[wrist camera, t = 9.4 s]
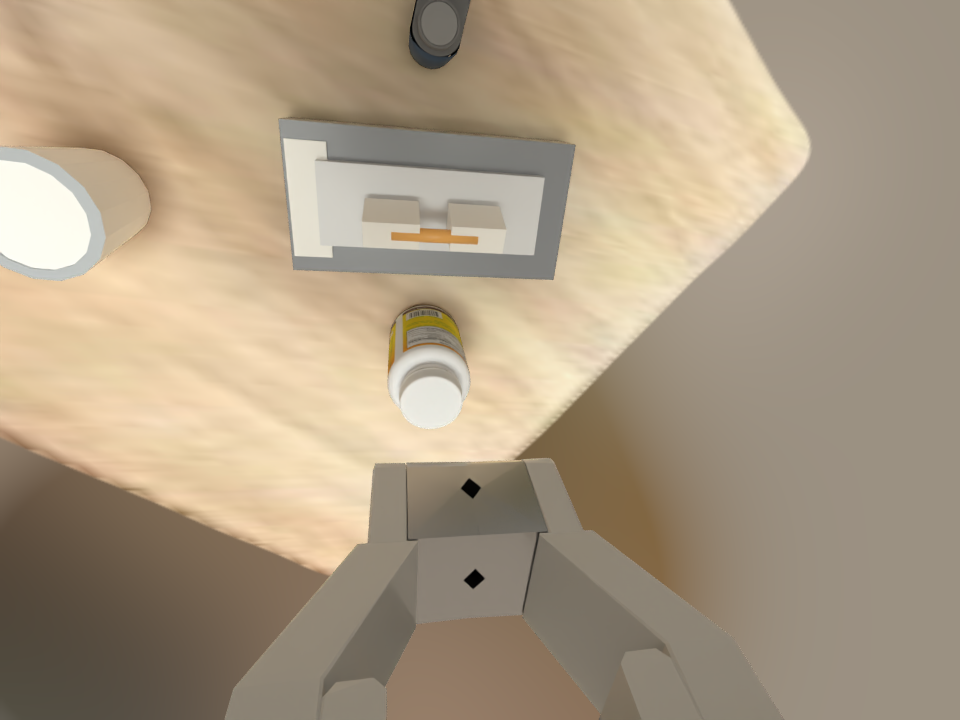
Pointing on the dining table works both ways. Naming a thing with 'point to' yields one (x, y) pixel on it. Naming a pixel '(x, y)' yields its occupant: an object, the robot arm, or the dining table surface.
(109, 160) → the white cylinder
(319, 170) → the panel
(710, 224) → the dining table surface
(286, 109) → the dining table surface
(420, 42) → the vaping device
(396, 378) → the supplement bottle
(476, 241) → the double breaker paddle
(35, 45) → the dining table surface
